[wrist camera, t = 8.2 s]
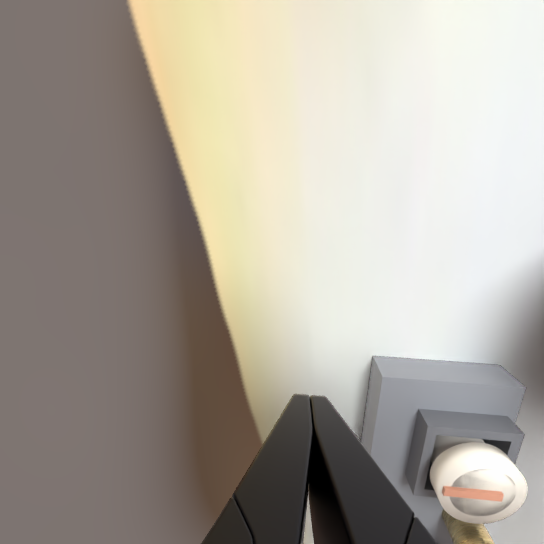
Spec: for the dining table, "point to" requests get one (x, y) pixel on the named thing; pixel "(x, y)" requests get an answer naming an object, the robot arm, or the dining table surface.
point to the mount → (435, 421)
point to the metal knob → (466, 531)
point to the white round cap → (475, 480)
